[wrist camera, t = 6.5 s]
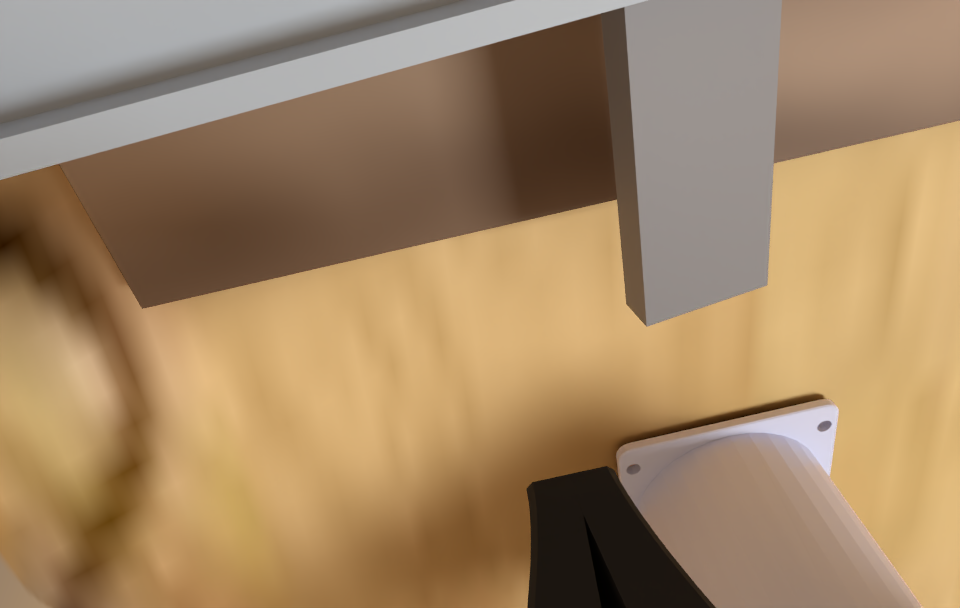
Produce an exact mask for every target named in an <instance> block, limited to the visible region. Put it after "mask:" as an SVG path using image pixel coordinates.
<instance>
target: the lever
mask: <svg viewBox="0 0 960 608" xmlns="http://www.w3.org/2000/svg"><path fill="white" fill-rule="evenodd" d="M781 9H782V0H0V180H2V179H6V178H9V177H13V176H16V175H20V174H24V173H27V172H31V171H34V170H38V169H42V168H45V167H49V166H52V165H56V164H60V163H63V162H67V161H70V160H74V159H78V158H81V157H85V156H88V155H92V154H96V153H99V152H103V151H107V150H110V149H114V148H117V147H121V146H125V145H128V144H132V143H135V142H139V141H143V140H146V139H150V138H153V137H157V136H161V135H164V134H168V133H171V132H175V131H179V130H182V129H186V128H189V127H193V126H197V125H200V124H204V123H207V122H211V121H215V120H218V119H222V118H226V117H229V116H233V115H236V114H240V113H244V112H247V111H251V110H254V109H258V108H262V107H265V106H269V105H272V104H276V103H280V102H283V101H287V100H290V99H294V98H298V97H301V96H305V95H308V94H312V93H316V92H319V91H323V90H327V89H330V88H334V87H337V86H341V85H345V84H348V83H352V82H355V81H359V80H363V79H366V78H370V77H373V76H377V75H381V74H384V73H388V72H391V71H395V70H399V69H402V68H406V67H409V66H413V65H417V64H420V63H424V62H428V61H431V60H435V59H438V58H442V57H446V56H449V55H453V54H456V53H460V52H464V51H467V50H471V49H474V48H478V47H482V46H485V45H489V44H492V43H496V42H500V41H503V40H507V39H510V38H514V37H518V36H521V35H525V34H529V33H532V32H536V31H539V30H543V29H547V28H550V27H554V26H557V25H561V24H565V23H568V22H572V21H575V20H579V19H583V18H586V17H590V16H593V15H597V14H601V22H602V33H603V45H604V56H605V67H606V79H607V90H608V101H609V113H610V124H611V135H612V146H613V158H614V169H615V180H616V192H617V203H618V214H619V226H620V237H621V248H622V259H623V271H624V282H625V293H626V304H627V305H628V306H629V307H630V309H631V310H632V311H633V312H634V313H635V314H636V315H637V316H638V317H639V319H640V320H641V321H642V322H643V323H644V324H645V325H646V326H650V325H653V324H656V323H659V322H662V321H664V320H667V319H670V318H673V317H676V316H679V315H682V314H685V313H688V312H691V311H694V310H697V309H699V308H702V307H705V306H708V305H711V304H714V303H717V302H720V301H723V300H726V299H729V298H732V297H734V296H737V295H740V294H743V293H746V292H749V291H752V290H755V289H758V288H761V287H764V286H767V280H768V260H769V241H770V222H771V202H772V183H773V164H774V145H775V125H776V106H777V87H778V67H779V48H780V29H781Z"/></svg>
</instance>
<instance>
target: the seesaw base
mask: <svg viewBox="0 0 960 608" xmlns="http://www.w3.org/2000/svg"><path fill="white" fill-rule="evenodd" d="M959 120H960V0H782V9H781V29H780V48H779V67H778V87H777V106H776V125H775V145H774V163H777V162H781V161H786V160H790V159H794V158H799V157H803V156H807V155H812V154H816V153H820V152H825V151H829V150H833V149H838V148H842V147H847V146H851V145H855V144H860V143H864V142H868V141H873V140H877V139H881V138H886V137H890V136H894V135H899V134H903V133H907V132H912V131H916V130H920V129H925V128H929V127H933V126H938V125H942V124H946V123H951V122H955V121H959ZM59 165H60V167H61V169H62V171H63V172H64V174H65V176H66V177H67V179H68V181H69V183H70V184H71V186H72V188H73V190H74V191H75V193H76V195H77V197H78V198H79V200H80V202H81V203H82V205H83V207H84V209H85V210H86V212H87V214H88V216H89V217H90V219H91V221H92V223H93V224H94V226H95V228H96V229H97V231H98V233H99V235H100V236H101V238H102V240H103V242H104V243H105V245H106V247H107V249H108V250H109V252H110V254H111V255H112V257H113V259H114V261H115V262H116V264H117V266H118V268H119V269H120V271H121V273H122V275H123V276H124V278H125V280H126V281H127V283H128V285H129V287H130V288H131V290H132V292H133V294H134V295H135V297H136V299H137V301H138V302H139V304H140V306H141V307H142V309H143V308H147V307H152V306H156V305H160V304H165V303H169V302H173V301H178V300H182V299H186V298H191V297H195V296H199V295H204V294H208V293H212V292H217V291H221V290H225V289H230V288H234V287H238V286H243V285H247V284H251V283H256V282H260V281H265V280H269V279H273V278H278V277H282V276H286V275H291V274H295V273H299V272H304V271H308V270H312V269H317V268H321V267H325V266H330V265H334V264H338V263H343V262H347V261H351V260H356V259H360V258H364V257H369V256H373V255H377V254H382V253H386V252H390V251H395V250H399V249H403V248H408V247H412V246H417V245H421V244H425V243H430V242H434V241H438V240H443V239H447V238H451V237H456V236H460V235H464V234H469V233H473V232H477V231H482V230H486V229H490V228H495V227H499V226H503V225H508V224H512V223H516V222H521V221H525V220H529V219H534V218H538V217H542V216H547V215H551V214H556V213H560V212H564V211H569V210H573V209H577V208H582V207H586V206H590V205H595V204H599V203H603V202H608V201H612V200H616V199H617V192H616V180H615V169H614V158H613V146H612V135H611V124H610V113H609V101H608V90H607V79H606V67H605V56H604V45H603V33H602V22H601V14H597V15H593V16H590V17H586V18H583V19H579V20H575V21H572V22H568V23H565V24H561V25H557V26H554V27H550V28H547V29H543V30H539V31H536V32H532V33H529V34H525V35H521V36H518V37H514V38H510V39H507V40H503V41H500V42H496V43H492V44H489V45H485V46H482V47H478V48H474V49H471V50H467V51H464V52H460V53H456V54H453V55H449V56H446V57H442V58H438V59H435V60H431V61H428V62H424V63H420V64H417V65H413V66H409V67H406V68H402V69H399V70H395V71H391V72H388V73H384V74H381V75H377V76H373V77H370V78H366V79H363V80H359V81H355V82H352V83H348V84H345V85H341V86H337V87H334V88H330V89H327V90H323V91H319V92H316V93H312V94H308V95H305V96H301V97H298V98H294V99H290V100H287V101H283V102H280V103H276V104H272V105H269V106H265V107H262V108H258V109H254V110H251V111H247V112H244V113H240V114H236V115H233V116H229V117H226V118H222V119H218V120H215V121H211V122H207V123H204V124H200V125H197V126H193V127H189V128H186V129H182V130H179V131H175V132H171V133H168V134H164V135H161V136H157V137H153V138H150V139H146V140H143V141H139V142H135V143H132V144H128V145H125V146H121V147H117V148H114V149H110V150H107V151H103V152H99V153H96V154H92V155H88V156H85V157H81V158H78V159H74V160H70V161H67V162H63V163H60V164H59Z"/></svg>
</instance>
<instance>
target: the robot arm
mask: <svg viewBox="0 0 960 608" xmlns="http://www.w3.org/2000/svg"><path fill="white" fill-rule="evenodd" d="M838 414H839V411H838V408H837V406H836V405H835V404H834V403H833V402H832V401H831V400H829V399H820V400H816V401H812V402H807V403H803V404H798V405H794V406H790V407H785V408H781V409H776V410H772V411H768V412H763V413H759V414H754V415H750V416H746V417H741V418H737V419H732V420H728V421H724V422H719V423H715V424H710V425H706V426H701V427H697V428H693V429H688V430H684V431H679V432H675V433H671V434H666V435H662V436H657V437H653V438H649V439H644V440H640V441H635V442H631V443H627V444H625V445H623V446H622V447H620V448H619V449H618V451H617V453H616V459H617V468H618V476H619V478H618V477H617V475H616V473H615V471H614V470H613V469H611V468H609V467H607V466H605V467H601V468H596V469H591V470H587V471H582V472H578V473H573V474H569V475H564V476H559V477H555V478H550V479H546V480H541V481H537V482H532V484H531V485H530V486H529V487H528V488H527V494H528V500H529V507H530V520H531V566H530V580H529V594H528V608H923V607H922V605H921V604H920V602H919V601H918V600H917V598H916V597H915V595H914V594H913V593H912V591H911V590H910V588H909V587H908V586H907V584H906V583H905V581H904V580H903V579H902V577H901V576H900V575H899V573H898V572H897V570H896V569H895V568H894V566H893V565H892V563H891V562H890V561H889V559H888V558H887V556H886V555H885V554H884V552H883V551H882V549H881V548H880V547H879V545H878V544H877V542H876V541H875V540H874V538H873V537H872V535H871V534H870V533H869V531H868V530H867V529H866V527H865V526H864V524H863V523H862V522H861V520H860V519H859V517H858V516H857V515H856V513H855V512H854V510H853V509H852V508H851V506H850V505H849V503H848V502H847V501H846V499H845V498H844V496H843V495H842V494H841V492H840V491H839V489H838V488H837V487H836V485H835V484H834V483H833V481H832V480H831V478H830V471H831V464H832V457H833V449H834V442H835V435H836V428H837V421H838ZM633 464H635V465H633ZM630 465H633V466H630Z"/></svg>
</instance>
